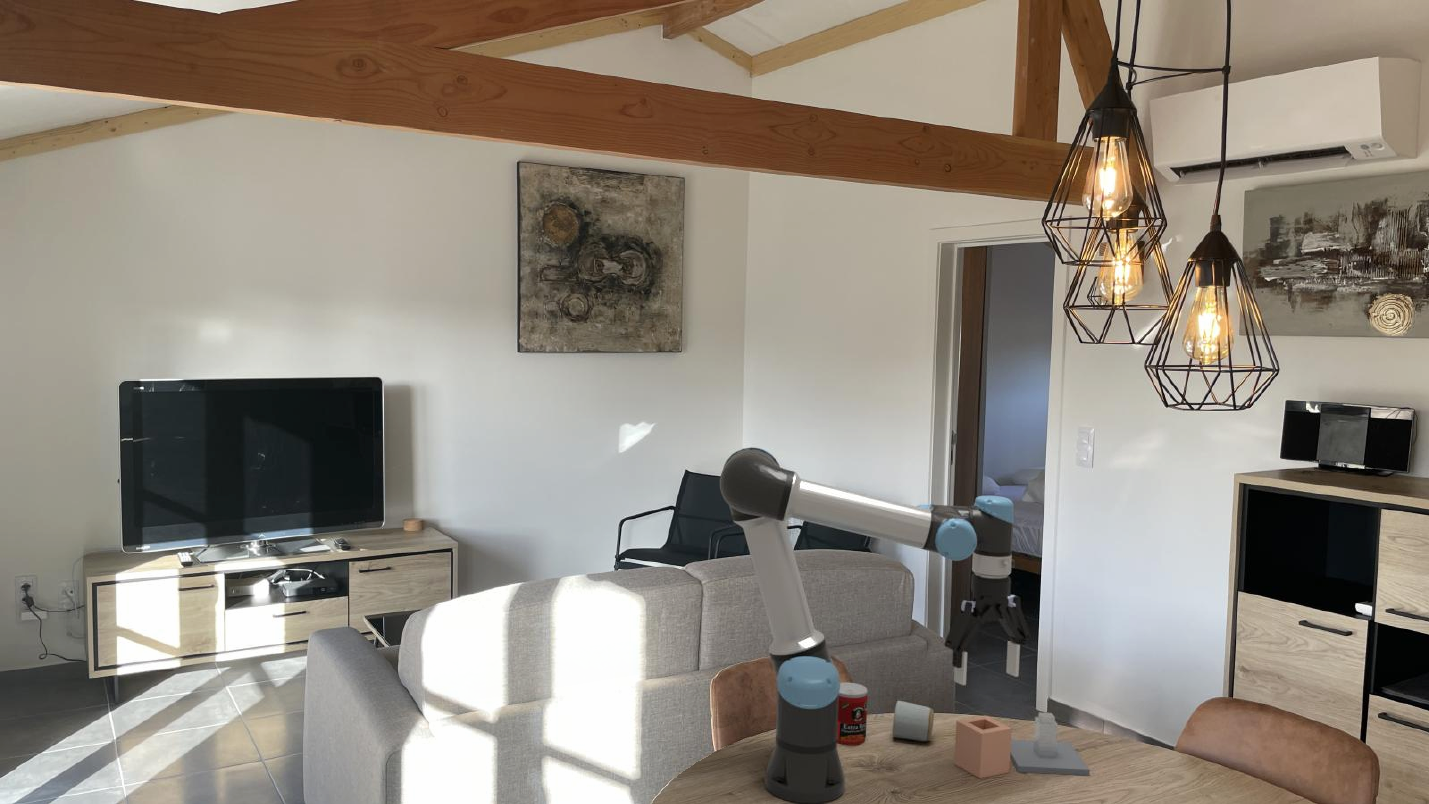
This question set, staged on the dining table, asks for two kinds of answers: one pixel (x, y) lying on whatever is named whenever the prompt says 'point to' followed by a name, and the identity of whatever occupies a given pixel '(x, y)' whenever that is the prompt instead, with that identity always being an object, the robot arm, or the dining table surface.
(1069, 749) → the shaft plate
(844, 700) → the canned food
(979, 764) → the square open box
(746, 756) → the dining table surface
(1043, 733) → the square shaft
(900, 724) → the ceramic mug
